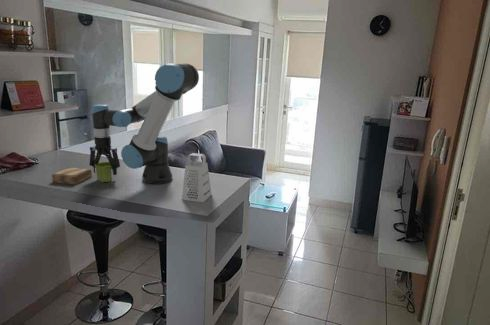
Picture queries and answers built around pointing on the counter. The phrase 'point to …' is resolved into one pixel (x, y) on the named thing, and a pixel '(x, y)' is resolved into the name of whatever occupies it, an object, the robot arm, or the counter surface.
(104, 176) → the plant pot
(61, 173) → the tan flat square block
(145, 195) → the counter surface
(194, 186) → the grater
